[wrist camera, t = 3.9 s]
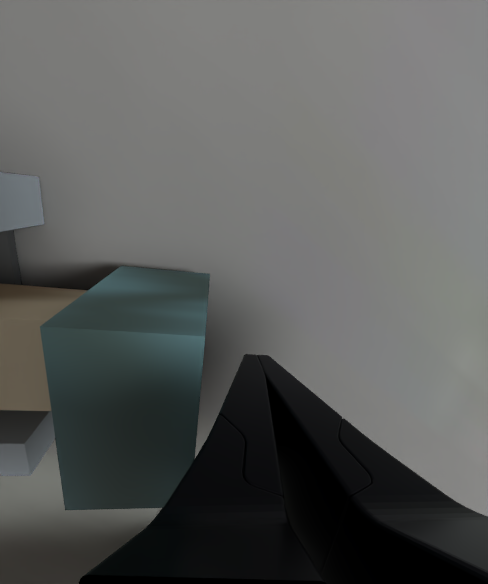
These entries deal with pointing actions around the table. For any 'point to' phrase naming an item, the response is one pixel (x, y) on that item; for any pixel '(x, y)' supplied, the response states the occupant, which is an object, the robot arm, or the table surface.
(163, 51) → the table surface
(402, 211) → the table surface
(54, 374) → the push rod
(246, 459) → the robot arm
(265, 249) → the table surface
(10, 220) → the channel
